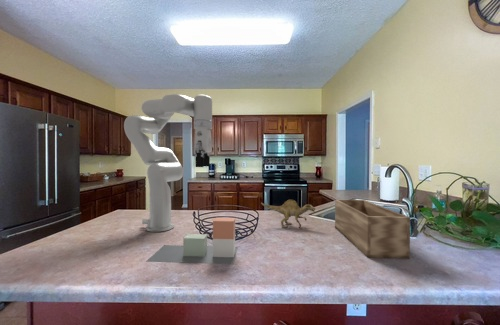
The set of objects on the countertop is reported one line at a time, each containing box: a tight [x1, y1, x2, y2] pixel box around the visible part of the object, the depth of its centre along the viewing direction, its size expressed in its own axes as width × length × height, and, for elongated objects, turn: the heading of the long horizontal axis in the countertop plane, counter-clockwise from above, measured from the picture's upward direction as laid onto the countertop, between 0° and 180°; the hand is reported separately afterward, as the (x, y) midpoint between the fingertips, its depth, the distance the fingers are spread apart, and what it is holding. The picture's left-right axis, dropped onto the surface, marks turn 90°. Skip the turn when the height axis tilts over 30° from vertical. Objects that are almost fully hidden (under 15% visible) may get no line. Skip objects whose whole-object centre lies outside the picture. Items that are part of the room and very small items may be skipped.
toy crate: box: [334, 199, 411, 260], centre depth 89 cm, size 14×32×14 cm, turn 177°
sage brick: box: [182, 233, 208, 257], centre depth 74 cm, size 7×4×6 cm, turn 87°
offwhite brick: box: [212, 236, 236, 257], centre depth 73 cm, size 7×4×6 cm, turn 87°
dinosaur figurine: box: [260, 199, 316, 229], centre depth 108 cm, size 8×26×13 cm, turn 80°
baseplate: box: [146, 244, 239, 265], centre depth 74 cm, size 28×13×1 cm, turn 87°
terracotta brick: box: [212, 217, 236, 240], centre depth 73 cm, size 7×4×6 cm, turn 87°
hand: (202, 166), depth 90 cm, fingers open, 9 cm apart
